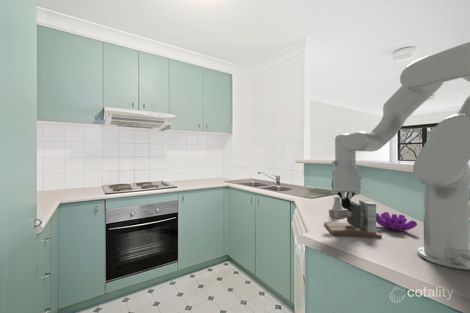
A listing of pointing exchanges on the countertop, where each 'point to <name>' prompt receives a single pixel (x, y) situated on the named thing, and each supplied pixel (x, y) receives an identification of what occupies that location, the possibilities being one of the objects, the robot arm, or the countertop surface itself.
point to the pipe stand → (348, 230)
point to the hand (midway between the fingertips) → (345, 208)
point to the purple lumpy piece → (394, 221)
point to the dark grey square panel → (355, 215)
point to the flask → (337, 205)
